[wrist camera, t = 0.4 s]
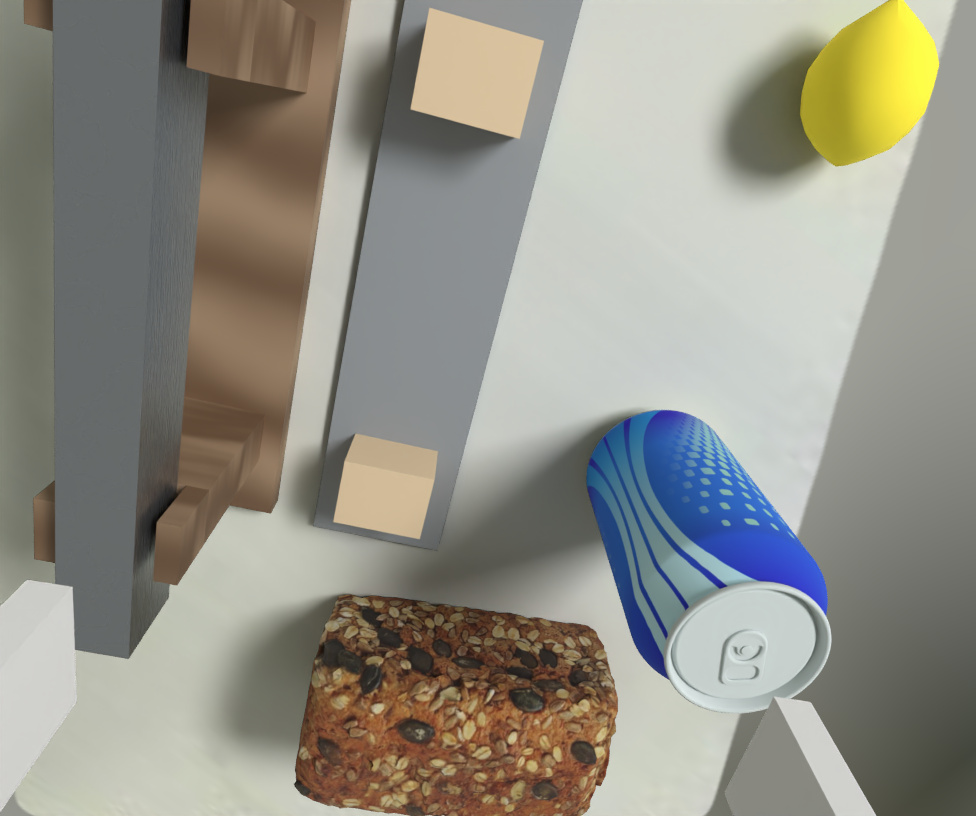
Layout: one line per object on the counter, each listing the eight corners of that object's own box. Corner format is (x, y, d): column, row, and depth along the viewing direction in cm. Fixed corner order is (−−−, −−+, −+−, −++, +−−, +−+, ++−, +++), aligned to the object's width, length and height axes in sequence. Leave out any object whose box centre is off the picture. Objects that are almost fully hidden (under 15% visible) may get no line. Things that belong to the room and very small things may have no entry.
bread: (319, 693, 48) (282, 827, 39) (336, 575, 44) (300, 694, 35) (567, 729, 50) (587, 865, 41) (605, 618, 46) (638, 742, 37)
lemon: (862, 162, 35) (920, 185, 30) (763, 149, 34) (805, 170, 30) (923, 8, 31) (999, 7, 27) (813, -9, 31) (871, -13, 26)
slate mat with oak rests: (416, -62, 30) (408, -88, 26) (584, -11, 31) (599, -30, 27) (315, 521, 42) (299, 559, 38) (437, 546, 43) (434, 585, 39)
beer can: (555, 474, 41) (598, 669, 26) (648, 374, 39) (753, 526, 24) (653, 543, 43) (744, 758, 29) (747, 452, 41) (900, 637, 26)
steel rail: (128, -185, 20) (51, -253, 17) (226, -155, 21) (173, -215, 17) (104, 586, 32) (55, 646, 28) (168, 597, 32) (128, 658, 28)
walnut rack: (179, -106, 29) (-26, -264, 17) (358, -53, 30) (281, -169, 18) (146, 474, 41) (9, 619, 29) (277, 500, 42) (197, 652, 30)
